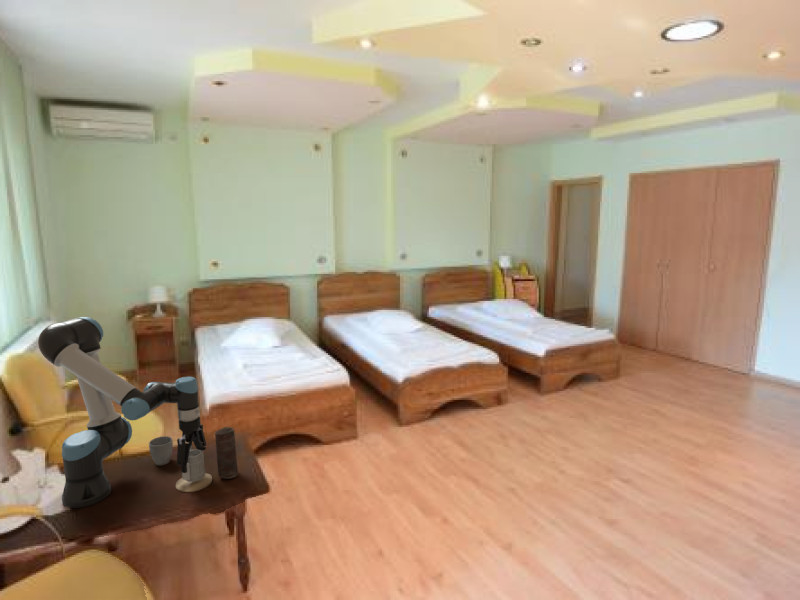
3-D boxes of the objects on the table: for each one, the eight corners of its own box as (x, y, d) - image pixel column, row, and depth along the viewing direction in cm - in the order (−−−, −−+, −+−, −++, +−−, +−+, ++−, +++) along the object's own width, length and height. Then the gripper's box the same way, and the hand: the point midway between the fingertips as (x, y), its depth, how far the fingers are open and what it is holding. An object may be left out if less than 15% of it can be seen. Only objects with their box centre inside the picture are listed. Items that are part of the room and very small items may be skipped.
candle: (222, 483, 186) (218, 435, 182) (214, 475, 191) (211, 428, 188) (241, 476, 191) (238, 429, 187) (233, 469, 196) (230, 423, 193)
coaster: (168, 490, 181) (168, 489, 180) (188, 472, 193) (187, 471, 193) (200, 493, 179) (200, 492, 179) (218, 475, 192) (218, 473, 191)
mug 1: (176, 463, 201) (174, 441, 199) (152, 469, 195) (150, 447, 194) (170, 452, 210) (168, 431, 208) (147, 457, 205) (145, 436, 203)
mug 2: (185, 484, 179) (183, 454, 178) (181, 470, 189) (178, 442, 187) (207, 478, 183) (204, 449, 182) (201, 465, 193) (199, 437, 191)
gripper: (181, 430, 170) (186, 488, 174) (213, 407, 192) (216, 459, 195) (162, 429, 171) (167, 487, 175) (195, 406, 193) (199, 458, 196)
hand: (193, 472), depth 185 cm, fingers closed on mug 2, 9 cm apart
